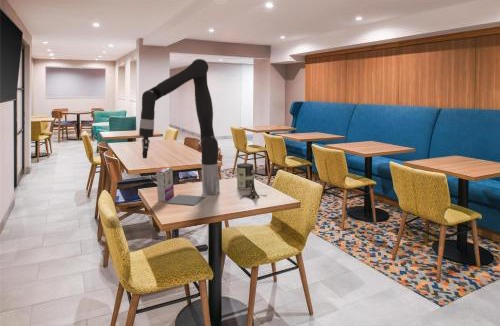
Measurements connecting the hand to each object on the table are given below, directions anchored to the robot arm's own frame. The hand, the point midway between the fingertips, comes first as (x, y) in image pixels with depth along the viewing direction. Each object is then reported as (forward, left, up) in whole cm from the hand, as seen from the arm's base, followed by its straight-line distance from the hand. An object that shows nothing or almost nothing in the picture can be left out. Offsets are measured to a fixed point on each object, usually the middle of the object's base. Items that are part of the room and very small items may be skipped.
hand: (144, 156), depth 205 cm
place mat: (-24, +1, -23) cm, 33 cm away
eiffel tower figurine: (-58, -14, -24) cm, 64 cm away
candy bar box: (-12, +1, -23) cm, 26 cm away
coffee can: (-47, -34, -23) cm, 63 cm away
